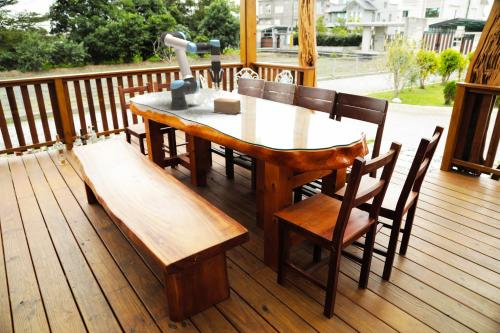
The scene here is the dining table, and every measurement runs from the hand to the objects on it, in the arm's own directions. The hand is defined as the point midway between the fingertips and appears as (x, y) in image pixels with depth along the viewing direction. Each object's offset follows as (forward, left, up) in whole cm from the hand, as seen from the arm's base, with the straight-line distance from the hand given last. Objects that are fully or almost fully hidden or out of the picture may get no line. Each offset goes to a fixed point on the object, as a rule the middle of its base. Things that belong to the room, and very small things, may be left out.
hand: (217, 91), depth 266 cm
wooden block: (-1, -2, -11) cm, 11 cm away
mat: (+9, 0, -16) cm, 19 cm away
